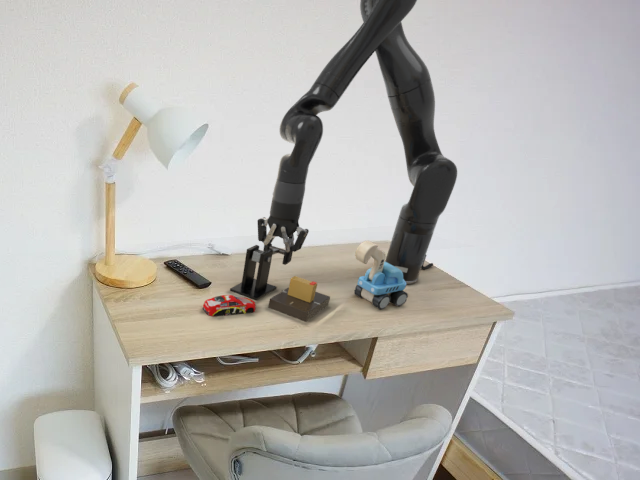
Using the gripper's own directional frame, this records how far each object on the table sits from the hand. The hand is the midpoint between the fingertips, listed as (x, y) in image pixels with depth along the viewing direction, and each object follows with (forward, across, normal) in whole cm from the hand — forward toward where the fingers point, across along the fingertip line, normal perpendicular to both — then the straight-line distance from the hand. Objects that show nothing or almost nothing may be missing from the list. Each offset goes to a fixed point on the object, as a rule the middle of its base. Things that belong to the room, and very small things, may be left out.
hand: (275, 260), depth 138 cm
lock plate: (+6, -13, +10) cm, 17 cm away
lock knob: (+3, -13, +10) cm, 17 cm away
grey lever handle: (-2, 0, +5) cm, 6 cm away
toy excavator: (+6, -24, -6) cm, 26 cm away
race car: (+6, -2, +24) cm, 25 cm away
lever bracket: (+6, 0, +10) cm, 12 cm away
